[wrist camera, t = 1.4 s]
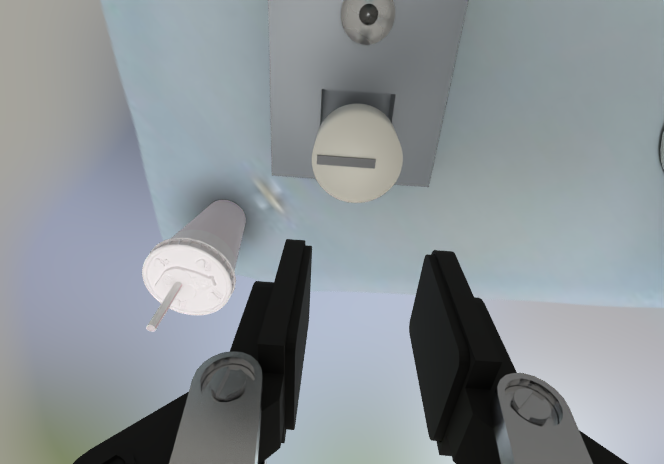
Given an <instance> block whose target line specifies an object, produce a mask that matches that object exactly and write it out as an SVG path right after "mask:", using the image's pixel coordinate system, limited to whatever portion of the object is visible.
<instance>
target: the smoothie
mask: <svg viewBox="0 0 664 464" xmlns="http://www.w3.org/2000/svg"><path fill="white" fill-rule="evenodd" d="M245 224H246V216H245V213H244V212H243V210H242V209H241V207H240V206H238V205H237V204H236V203H234V202H232V201H229V200H217V201H215V202H213V203H211V204H210V205H209V206H208V207H207V208H206V209H204V210H203V211H202V212H201V213H200V214H199V215H198V216H196V217H195V218H194V219H193V220H192V221H191V222H189V223H188V224H187V225H186V226H185V227H184V228H183V229H181V230H180V231H179V232H178V233H177V234H176V235H174V236H173V237H172V238H171V239H167V240H165V241H163V242H161V243H159V244H157V245H156V246H155V247H154V249H153V250H152V251H151V252H150V254H149V256H148V257H147V258H146V260H145V262H144V264H143V268H142V269H143V270H142V275H143V280H144V283H145V285H146V287H147V289H148V290H149V292H150V293H151V294H152V296H153V297H154V298H155V299H156V300H158V301H159V302H160V303H161V305H160V307H159V308H158V310H157V311H156V313H155V314H154V316H153V317H152V319H151V321H150V322H149V324H148V325H147V327H146V328H147V330H149V331H151V332H154V331H155V330H156V329H157V327H158V325H159V324H160V322H161V320H162V319H163V317H164V316H165V314H166V312H167V311H168V309H172V310H174V311H176V312H179V313H183V314H188V315H206V314H210V313H213V312H215V311H217V310H219V309H221V308H222V307H223V306H224V305H225V304H226V303H227V302H228V300H229V298H230V296H231V294H232V293H233V291H234V289H235V282H236V278H235V272H234V271H235V266H236V262H237V257H238V253H239V249H240V245H241V241H242V236H243V232H244V228H245Z"/></svg>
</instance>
